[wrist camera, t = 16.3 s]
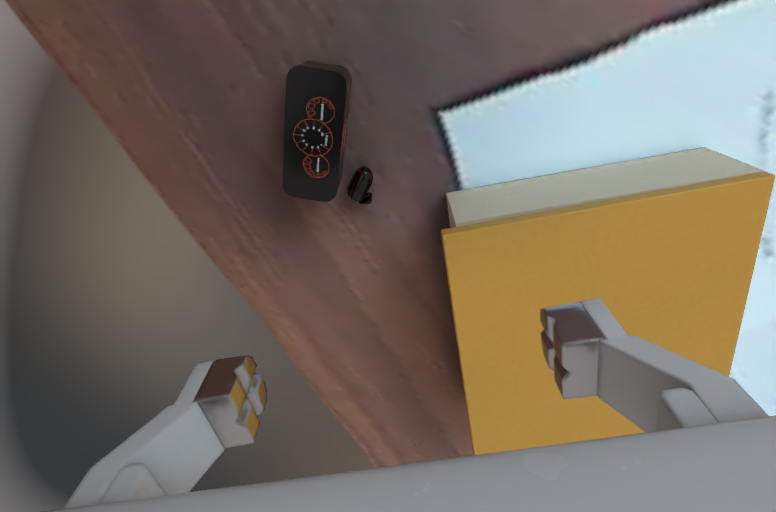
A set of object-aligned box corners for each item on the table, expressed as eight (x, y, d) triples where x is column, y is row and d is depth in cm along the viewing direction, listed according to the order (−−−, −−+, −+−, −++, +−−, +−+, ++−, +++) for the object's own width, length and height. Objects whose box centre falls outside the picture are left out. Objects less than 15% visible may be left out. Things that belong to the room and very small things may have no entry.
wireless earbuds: (293, 189, 26) (281, 210, 23) (300, 58, 23) (287, 63, 20) (371, 200, 26) (369, 222, 23) (389, 72, 23) (389, 80, 20)
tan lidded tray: (473, 395, 34) (483, 444, 30) (445, 192, 26) (455, 222, 22) (671, 368, 32) (710, 416, 28) (704, 146, 25) (763, 170, 21)
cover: (472, 451, 29) (475, 460, 29) (440, 229, 22) (441, 235, 21) (710, 417, 28) (718, 425, 28) (764, 170, 21) (776, 174, 20)
